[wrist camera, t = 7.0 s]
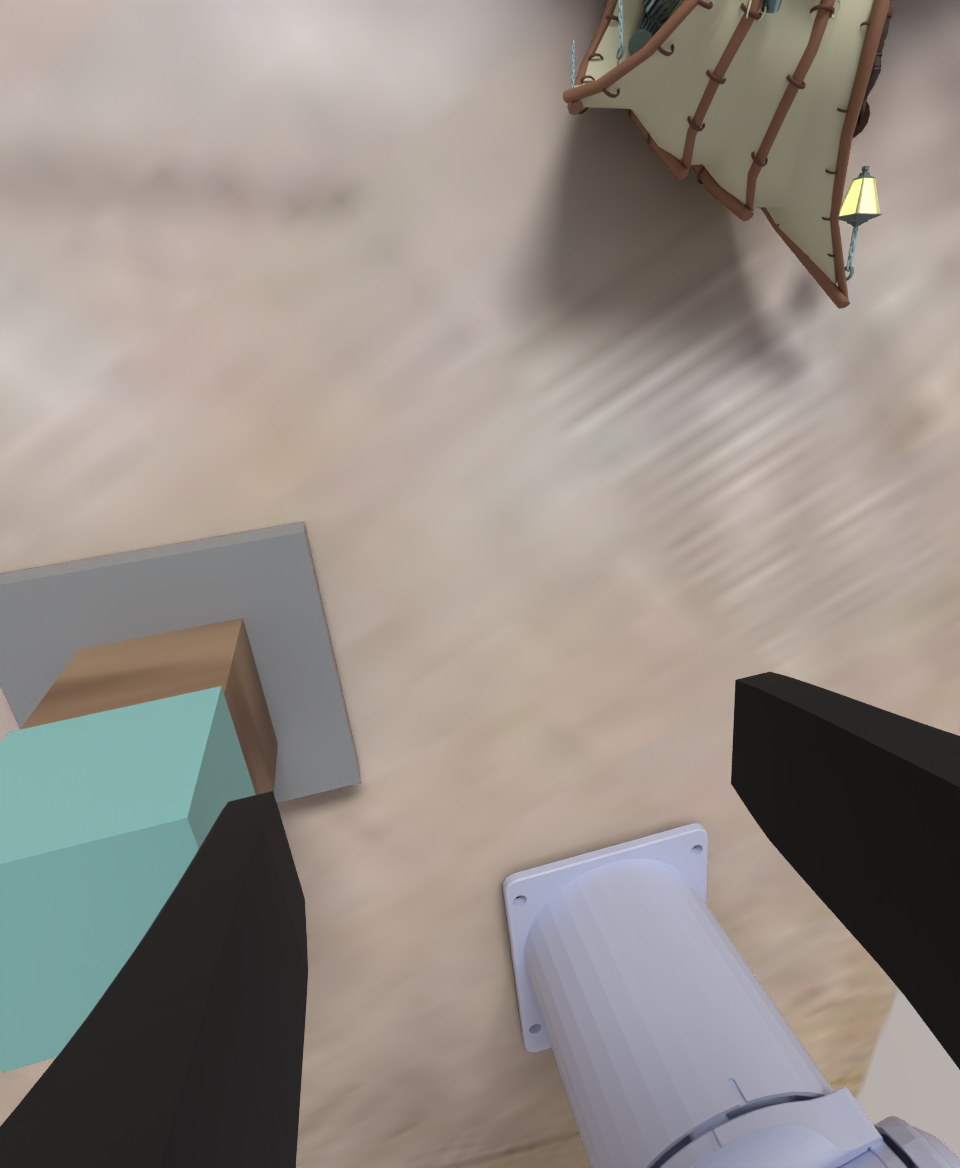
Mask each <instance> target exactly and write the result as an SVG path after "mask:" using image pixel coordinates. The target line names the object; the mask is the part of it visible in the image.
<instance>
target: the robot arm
mask: <svg viewBox="0 0 960 1168" xmlns="http://www.w3.org/2000/svg"><path fill="white" fill-rule="evenodd" d="M731 784H732V786H733V787H734V789H735V790H736V792H737V793H738V795H739V796H740V798H741V799H742V801H743V803H744V804H745V806H746V807H747V809H748V810H749V812H750V813H751V815H752V816H753V818H754V819H755V820H756V822H757V823H758V825H759V826H760V828H761V829H762V830H763V832H764V833H765V835H766V836H767V837H768V839H769V840H770V841H771V842H772V844H773V845H774V846H775V847H776V848H777V849H778V851H779V852H780V853H781V854H782V855H783V856H784V858H785V859H786V860H787V861H788V862H789V863H790V864H791V866H792V867H793V868H794V869H795V870H796V871H797V873H798V874H799V875H800V876H801V877H802V878H803V879H804V881H805V882H806V883H807V884H808V885H809V886H810V887H811V888H812V890H813V891H814V892H815V893H816V894H817V895H818V896H819V898H820V899H821V900H822V901H823V902H824V903H825V904H826V905H827V907H828V908H829V909H830V910H831V911H832V912H833V913H834V914H835V916H836V917H837V918H838V919H839V920H840V921H841V922H842V923H843V925H844V926H845V927H846V928H847V929H848V930H849V931H850V932H851V934H852V935H853V936H854V937H855V938H856V939H857V940H858V941H859V943H860V944H861V945H862V946H863V947H864V948H865V949H866V951H867V952H868V953H869V954H870V955H871V956H872V957H873V958H874V960H875V961H876V962H877V963H878V964H879V965H880V966H881V968H882V969H883V970H884V971H885V972H886V974H887V975H888V976H889V977H890V978H891V980H892V981H893V982H894V983H895V985H896V986H897V987H898V988H899V989H900V991H901V992H902V993H903V994H904V995H905V997H906V998H907V999H908V1001H909V1002H910V1003H911V1005H912V1006H913V1007H914V1009H915V1010H916V1011H917V1013H918V1014H919V1015H920V1017H921V1018H922V1019H923V1021H924V1022H925V1023H926V1025H927V1026H928V1027H929V1029H930V1030H931V1031H932V1033H933V1034H934V1036H935V1037H936V1038H937V1039H938V1041H939V1042H940V1043H941V1045H942V1046H943V1048H944V1049H945V1050H946V1052H947V1053H948V1054H949V1056H950V1057H951V1058H952V1060H953V1061H954V1062H955V1064H956V1065H957V1067H958V1068H959V1069H960V736H958V735H955V734H952V733H949V732H946V731H943V730H940V729H937V728H934V727H931V726H928V725H925V724H922V723H919V722H916V721H913V720H911V719H908V718H905V717H902V716H899V715H896V714H894V713H891V712H888V711H885V710H882V709H880V708H877V707H874V706H871V705H868V704H866V703H863V702H860V701H857V700H854V699H852V698H849V697H846V696H843V695H840V694H838V693H835V692H832V691H829V690H826V689H824V688H821V687H818V686H815V685H812V684H809V683H806V682H803V681H800V680H797V679H794V678H790V677H787V676H784V675H780V674H776V673H773V672H767V673H763V674H759V675H754V676H750V677H746V678H742V679H738V680H736V683H735V706H734V729H733V752H732V775H731ZM707 855H708V834H707V832H706V830H705V829H704V828H703V827H702V826H701V824H697V823H694V824H689V825H685V826H682V827H678V828H675V829H671V830H667V831H664V832H660V833H657V834H653V835H650V836H646V837H642V838H639V839H635V840H632V841H628V842H624V843H621V844H617V845H614V846H610V847H606V848H603V849H599V850H596V851H592V852H588V853H585V854H581V855H578V856H574V857H571V858H567V859H563V860H560V861H556V862H553V863H549V864H545V865H542V866H538V867H535V868H531V869H527V870H524V871H520V872H517V873H514V874H511V875H509V876H508V877H507V878H506V879H505V881H504V882H503V893H504V901H505V908H506V916H507V923H508V931H509V938H510V946H511V953H512V961H513V968H514V976H515V983H516V991H517V998H518V1006H519V1013H520V1021H521V1028H522V1036H523V1041H524V1045H525V1048H526V1050H527V1051H529V1052H532V1053H536V1052H540V1051H543V1050H546V1049H549V1048H552V1051H553V1054H554V1057H555V1060H556V1063H557V1066H558V1069H559V1072H560V1076H561V1079H562V1082H563V1085H564V1088H565V1091H566V1094H567V1097H568V1100H569V1103H570V1106H571V1109H572V1112H573V1115H574V1118H575V1121H576V1124H577V1127H578V1130H579V1133H580V1136H581V1139H582V1142H583V1145H584V1148H585V1151H586V1154H587V1157H588V1160H589V1163H590V1166H591V1168H960V1159H959V1157H958V1156H957V1155H956V1154H955V1153H953V1151H951V1150H950V1149H949V1148H948V1147H947V1146H946V1145H945V1144H944V1143H943V1142H942V1141H940V1140H939V1139H938V1138H936V1137H935V1136H933V1135H932V1134H930V1133H928V1132H925V1131H923V1130H920V1129H918V1128H916V1127H913V1126H911V1125H909V1124H908V1123H907V1122H905V1121H904V1120H902V1119H900V1118H898V1117H895V1116H890V1117H887V1118H885V1119H884V1120H882V1121H880V1122H878V1123H877V1124H875V1125H873V1123H872V1122H871V1121H870V1119H869V1118H868V1116H867V1115H866V1114H865V1112H864V1111H863V1109H862V1108H861V1106H860V1105H859V1104H858V1102H857V1101H856V1099H855V1098H854V1096H853V1095H852V1094H851V1092H850V1091H849V1089H848V1088H846V1087H842V1088H840V1089H838V1090H836V1091H834V1090H833V1089H832V1087H831V1086H830V1084H829V1083H828V1081H827V1080H826V1078H825V1077H824V1075H823V1074H822V1073H821V1071H820V1070H819V1068H818V1067H817V1065H816V1064H815V1062H814V1061H813V1059H812V1058H811V1057H810V1055H809V1054H808V1052H807V1051H806V1049H805V1048H804V1046H803V1045H802V1043H801V1042H800V1040H799V1039H798V1038H797V1036H796V1035H795V1033H794V1032H793V1030H792V1029H791V1027H790V1026H789V1024H788V1023H787V1022H786V1020H785V1019H784V1017H783V1016H782V1014H781V1013H780V1011H779V1010H778V1008H777V1007H776V1005H775V1004H774V1003H773V1001H772V1000H771V998H770V997H769V995H768V994H767V992H766V991H765V989H764V988H763V987H762V985H761V984H760V982H759V981H758V979H757V978H756V976H755V975H754V973H753V972H752V970H751V969H750V968H749V966H748V965H747V963H746V962H745V960H744V959H743V957H742V956H741V954H740V953H739V952H738V950H737V949H736V947H735V946H734V944H733V943H732V941H731V940H730V938H729V937H728V935H727V934H726V933H725V931H724V930H723V928H722V927H721V925H720V924H719V922H718V921H717V919H716V918H715V917H714V915H713V914H712V912H711V911H710V909H709V908H708V906H707V905H706V891H707ZM518 896H520V897H518ZM516 897H518V898H516ZM307 980H308V960H307V935H306V916H305V898H304V895H303V892H302V888H301V885H300V881H299V878H298V875H297V871H296V868H295V864H294V861H293V858H292V854H291V851H290V847H289V844H288V840H287V837H286V834H285V830H284V827H283V823H282V820H281V817H280V813H279V810H278V806H277V803H276V799H275V796H274V793H273V791H271V792H266V793H262V794H258V795H254V796H250V797H246V798H241V799H237V800H233V801H229V802H228V803H227V804H226V805H225V807H224V808H223V810H222V811H221V813H220V814H219V816H218V818H217V819H216V821H215V823H214V824H213V826H212V828H211V829H210V831H209V833H208V834H207V836H206V838H205V840H204V841H203V843H202V845H201V846H200V848H199V850H198V851H197V853H196V855H195V856H194V858H193V860H192V861H191V863H190V865H189V866H188V868H187V869H186V871H185V873H184V874H183V876H182V878H181V879H180V881H179V883H178V884H177V886H176V887H175V889H174V890H173V892H172V894H171V895H170V897H169V898H168V900H167V901H166V903H165V904H164V906H163V908H162V909H161V911H160V912H159V914H158V915H157V917H156V918H155V920H154V922H153V923H152V925H151V926H150V928H149V929H148V931H147V932H146V934H145V935H144V937H143V938H142V940H141V941H140V943H139V944H138V946H137V947H136V949H135V950H134V952H133V953H132V955H131V956H130V957H129V959H128V960H127V962H126V963H125V965H124V966H123V967H122V969H121V970H120V972H119V973H118V974H117V976H116V977H115V979H114V980H113V981H112V983H111V984H110V986H109V987H108V989H107V990H106V991H105V993H104V994H103V996H102V997H101V998H100V1000H99V1001H98V1003H97V1004H96V1006H95V1007H94V1008H93V1010H92V1011H91V1013H90V1014H89V1015H88V1017H87V1018H86V1019H85V1021H84V1022H83V1023H82V1025H81V1026H80V1027H79V1029H78V1030H77V1031H76V1033H75V1034H74V1035H73V1037H72V1038H71V1039H70V1040H69V1042H68V1043H67V1044H66V1046H65V1047H64V1048H63V1050H62V1051H61V1052H60V1054H59V1055H58V1056H57V1057H56V1059H55V1060H54V1061H53V1063H52V1064H51V1065H50V1066H49V1068H48V1069H47V1070H46V1071H45V1073H44V1074H43V1075H42V1076H41V1078H40V1079H39V1080H38V1081H37V1083H36V1084H35V1085H34V1086H33V1087H32V1089H31V1090H30V1091H29V1092H28V1094H27V1095H26V1096H25V1097H24V1099H23V1100H22V1101H21V1102H20V1104H19V1105H18V1106H17V1107H16V1109H15V1110H14V1111H13V1112H12V1113H11V1115H10V1116H9V1117H8V1118H7V1119H6V1120H5V1122H4V1123H3V1124H2V1125H1V1126H0V1168H296V1152H297V1137H298V1122H299V1107H300V1091H301V1076H302V1061H303V1046H304V1030H305V1014H306V998H307Z"/></svg>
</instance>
